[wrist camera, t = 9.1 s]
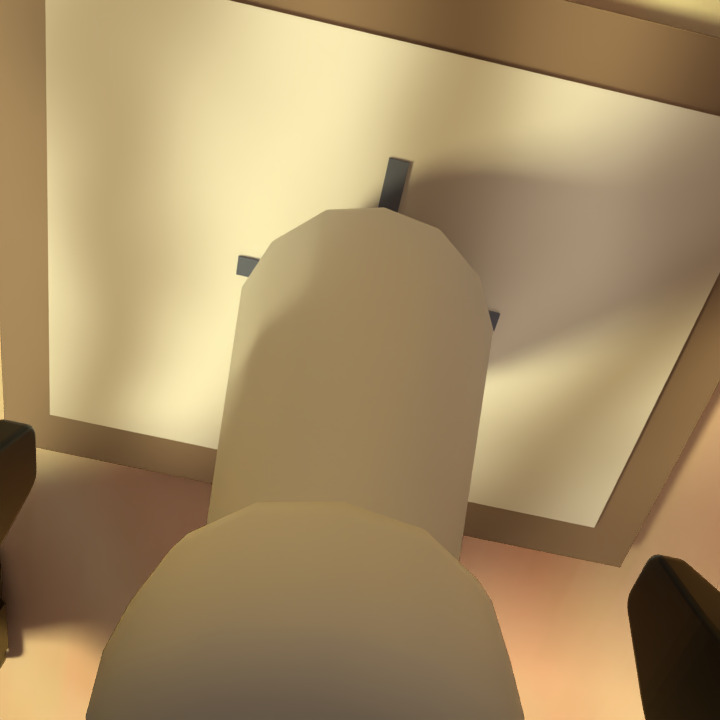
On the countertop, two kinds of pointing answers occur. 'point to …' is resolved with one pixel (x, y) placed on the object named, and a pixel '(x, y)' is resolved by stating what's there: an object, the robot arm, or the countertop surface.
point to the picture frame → (368, 190)
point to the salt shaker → (332, 501)
